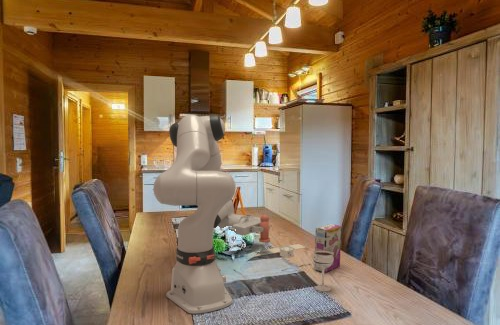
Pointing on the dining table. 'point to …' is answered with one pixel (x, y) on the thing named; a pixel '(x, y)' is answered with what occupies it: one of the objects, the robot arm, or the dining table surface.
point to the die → (286, 252)
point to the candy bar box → (329, 243)
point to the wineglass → (323, 264)
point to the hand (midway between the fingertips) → (266, 228)
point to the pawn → (265, 234)
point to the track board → (278, 249)
